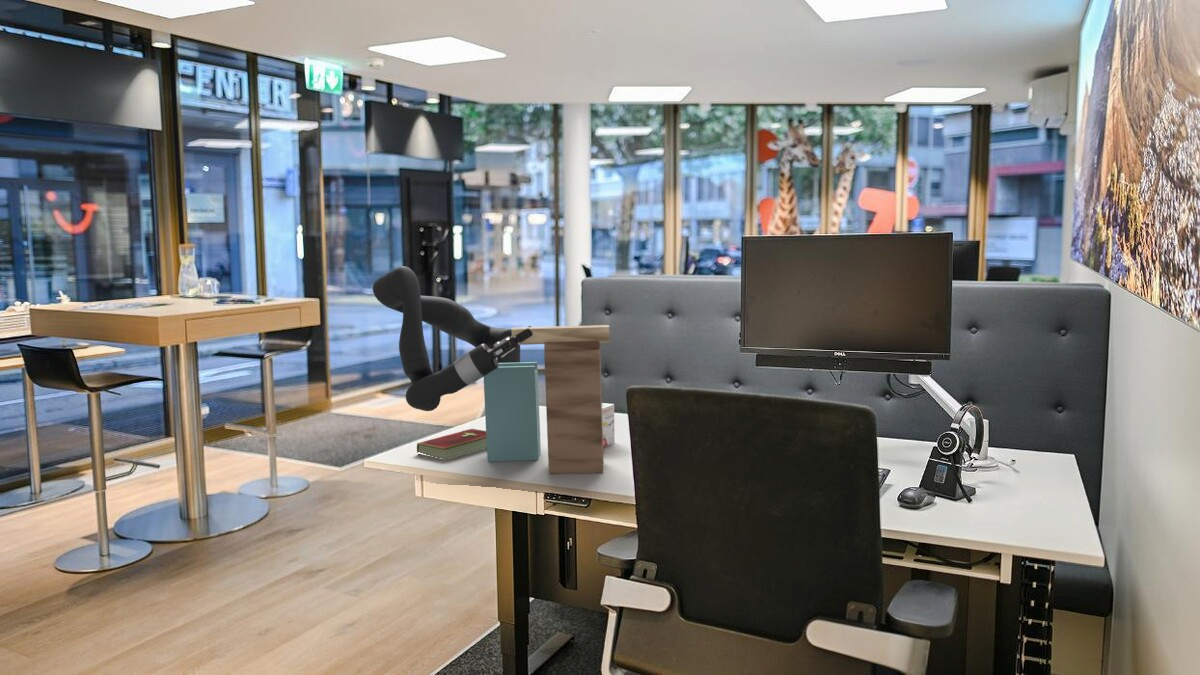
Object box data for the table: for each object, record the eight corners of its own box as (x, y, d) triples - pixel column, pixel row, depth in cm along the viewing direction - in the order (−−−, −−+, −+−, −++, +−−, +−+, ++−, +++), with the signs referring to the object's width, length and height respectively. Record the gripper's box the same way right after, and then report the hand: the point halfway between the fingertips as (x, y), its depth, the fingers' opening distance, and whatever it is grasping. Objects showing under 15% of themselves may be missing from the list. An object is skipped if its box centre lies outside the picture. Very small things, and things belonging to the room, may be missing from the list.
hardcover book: (417, 456, 246) (416, 442, 246) (471, 441, 262) (470, 427, 262) (445, 462, 239) (444, 447, 238) (499, 446, 255) (498, 432, 254)
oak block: (513, 342, 225) (513, 327, 225) (609, 340, 225) (609, 325, 224) (512, 344, 221) (511, 329, 221) (609, 342, 221) (608, 326, 220)
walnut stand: (551, 463, 232) (547, 338, 228) (603, 462, 232) (599, 337, 228) (548, 474, 222) (543, 343, 218) (603, 472, 222) (599, 342, 218)
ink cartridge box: (600, 449, 246) (599, 398, 244) (586, 447, 248) (584, 397, 247) (615, 442, 253) (614, 393, 251) (601, 441, 256) (599, 392, 254)
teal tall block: (491, 453, 245) (487, 363, 241) (540, 452, 244) (537, 362, 241) (487, 461, 237) (483, 367, 233) (538, 460, 236) (534, 366, 233)
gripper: (463, 356, 217) (521, 320, 215) (472, 348, 231) (526, 314, 229) (479, 381, 218) (537, 346, 216) (487, 371, 232) (541, 338, 230)
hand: (531, 330), depth 223 cm, fingers closed on oak block, 4 cm apart
